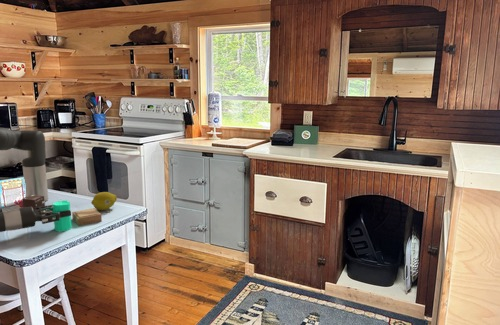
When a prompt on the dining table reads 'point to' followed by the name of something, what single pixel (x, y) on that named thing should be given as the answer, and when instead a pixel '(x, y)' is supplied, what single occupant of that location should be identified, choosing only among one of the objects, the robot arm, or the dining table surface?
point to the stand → (86, 216)
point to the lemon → (104, 200)
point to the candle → (64, 222)
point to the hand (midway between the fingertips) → (68, 210)
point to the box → (33, 201)
